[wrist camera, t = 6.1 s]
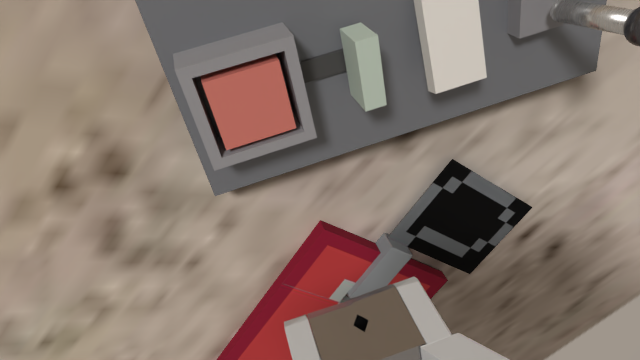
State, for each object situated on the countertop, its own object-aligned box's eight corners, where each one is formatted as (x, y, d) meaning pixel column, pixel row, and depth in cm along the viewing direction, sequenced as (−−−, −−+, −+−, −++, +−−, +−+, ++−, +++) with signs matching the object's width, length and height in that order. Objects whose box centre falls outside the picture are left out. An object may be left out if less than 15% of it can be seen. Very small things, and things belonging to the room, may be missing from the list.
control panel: (594, -140, 23) (666, -141, 20) (571, 59, 29) (624, 83, 25) (134, -16, 20) (130, 6, 17) (211, 175, 26) (219, 219, 23)
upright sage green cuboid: (360, 22, 21) (378, 35, 20) (370, 88, 23) (386, 105, 21) (339, 28, 21) (354, 42, 19) (350, 94, 23) (365, 111, 21)
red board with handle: (539, 208, 35) (391, 118, 28) (565, 232, 33) (410, 141, 26) (310, 450, 45) (155, 431, 37) (318, 482, 42) (154, 467, 35)
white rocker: (466, -22, 21) (476, -22, 21) (477, 75, 23) (486, 77, 22) (412, -6, 21) (420, -6, 20) (428, 90, 23) (435, 94, 22)
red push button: (271, 48, 21) (279, 60, 19) (288, 114, 23) (296, 128, 21) (198, 70, 20) (201, 82, 19) (222, 135, 22) (226, 150, 21)
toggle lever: (565, -15, 22) (685, 1, 18) (562, 20, 23) (675, 42, 19) (541, -4, 22) (660, 16, 18) (539, 31, 23) (651, 56, 19)
